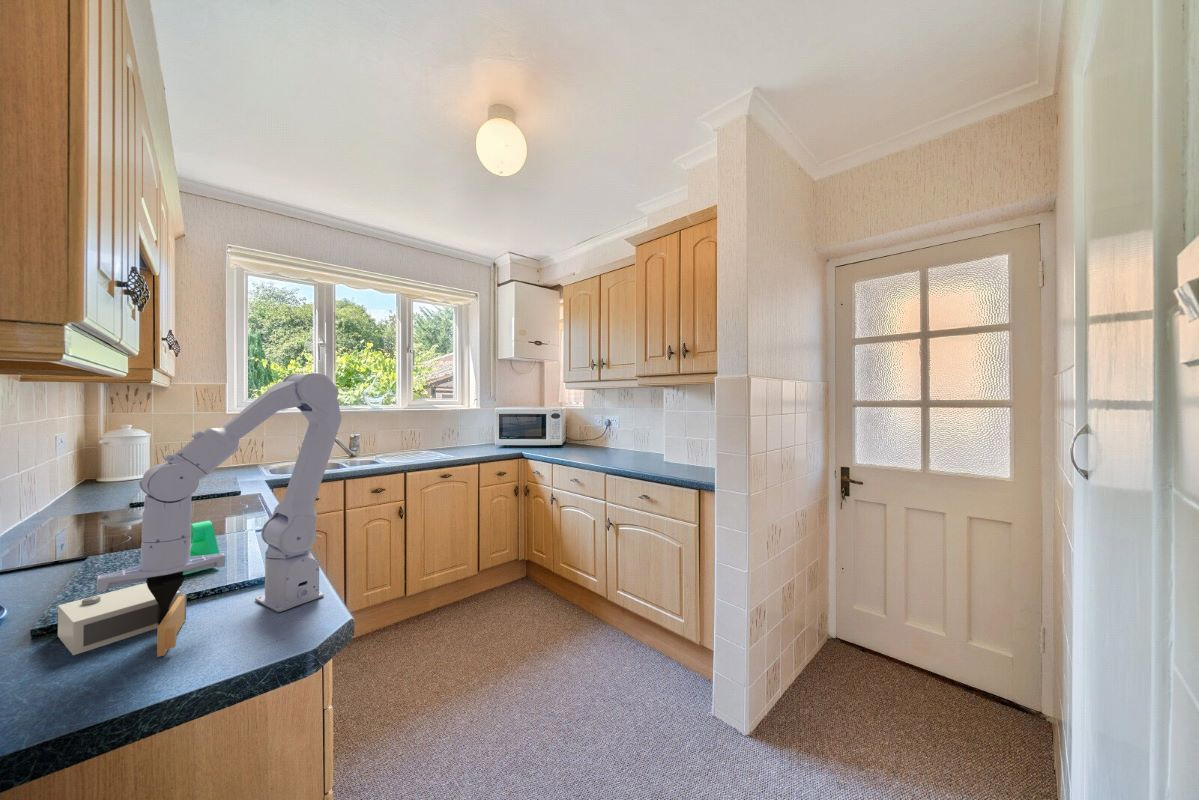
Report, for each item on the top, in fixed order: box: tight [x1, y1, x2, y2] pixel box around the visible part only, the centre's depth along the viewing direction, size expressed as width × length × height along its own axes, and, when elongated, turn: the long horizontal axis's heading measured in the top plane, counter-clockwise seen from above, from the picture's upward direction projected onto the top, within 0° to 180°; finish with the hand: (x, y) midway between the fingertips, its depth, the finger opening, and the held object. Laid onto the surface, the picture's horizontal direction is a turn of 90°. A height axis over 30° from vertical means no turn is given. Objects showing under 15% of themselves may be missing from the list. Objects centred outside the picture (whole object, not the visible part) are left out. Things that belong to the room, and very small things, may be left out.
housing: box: [57, 582, 182, 656], centre depth 73 cm, size 11×12×6 cm
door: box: [156, 593, 187, 658], centre depth 70 cm, size 13×2×4 cm, turn 33°
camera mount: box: [183, 520, 220, 576], centre depth 97 cm, size 12×8×10 cm, turn 61°
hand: (163, 621), depth 70 cm, fingers closed, pressing on door
